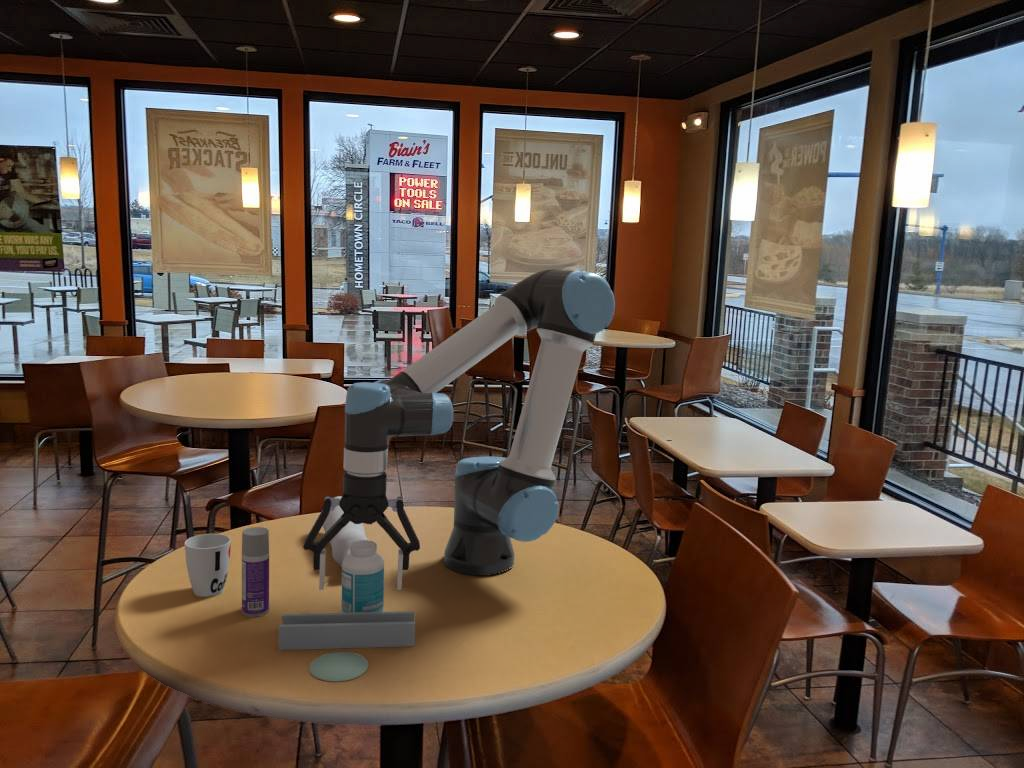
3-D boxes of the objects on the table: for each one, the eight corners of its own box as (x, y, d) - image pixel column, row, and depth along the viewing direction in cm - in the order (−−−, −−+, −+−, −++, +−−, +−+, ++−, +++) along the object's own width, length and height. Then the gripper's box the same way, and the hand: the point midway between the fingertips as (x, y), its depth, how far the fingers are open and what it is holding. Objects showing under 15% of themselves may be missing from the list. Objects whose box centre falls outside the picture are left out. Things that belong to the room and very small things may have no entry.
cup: (215, 602, 145) (215, 550, 143) (176, 597, 146) (175, 545, 145) (239, 585, 153) (239, 536, 151) (201, 580, 154) (201, 531, 153)
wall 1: (414, 643, 133) (415, 621, 132) (414, 646, 132) (415, 623, 132) (279, 647, 129) (279, 624, 129) (278, 650, 129) (278, 626, 128)
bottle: (312, 518, 184) (322, 571, 156) (335, 486, 184) (349, 533, 156) (345, 537, 187) (361, 592, 159) (367, 505, 187) (387, 555, 159)
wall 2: (413, 632, 137) (414, 611, 136) (413, 635, 136) (414, 613, 135) (282, 636, 133) (282, 613, 133) (281, 638, 133) (282, 615, 132)
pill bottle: (389, 610, 145) (391, 540, 143) (374, 627, 138) (375, 554, 136) (351, 605, 147) (352, 535, 145) (334, 622, 139) (335, 548, 137)
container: (274, 608, 144) (274, 529, 141) (258, 618, 139) (258, 537, 137) (252, 603, 145) (252, 525, 143) (236, 613, 141) (235, 533, 139)
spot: (368, 652, 129) (368, 651, 129) (367, 680, 121) (367, 679, 121) (312, 653, 128) (312, 652, 128) (306, 682, 119) (306, 681, 119)
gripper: (435, 467, 144) (429, 578, 147) (294, 464, 140) (291, 578, 143) (437, 478, 137) (431, 595, 140) (289, 475, 133) (286, 595, 136)
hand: (360, 587), depth 141 cm, fingers open, 13 cm apart
